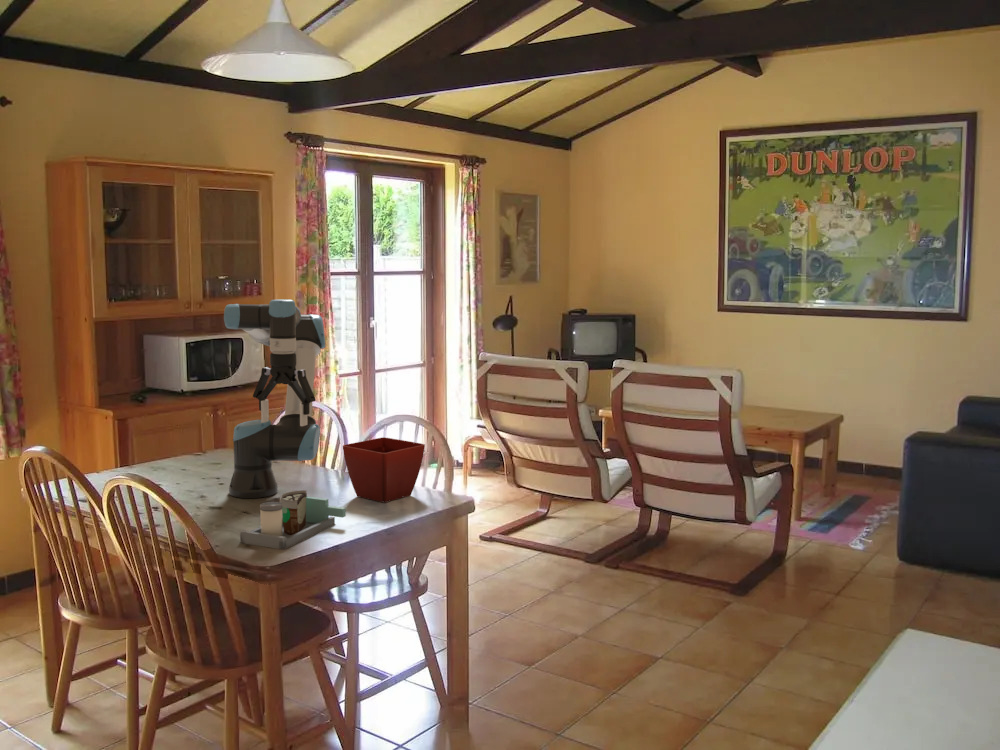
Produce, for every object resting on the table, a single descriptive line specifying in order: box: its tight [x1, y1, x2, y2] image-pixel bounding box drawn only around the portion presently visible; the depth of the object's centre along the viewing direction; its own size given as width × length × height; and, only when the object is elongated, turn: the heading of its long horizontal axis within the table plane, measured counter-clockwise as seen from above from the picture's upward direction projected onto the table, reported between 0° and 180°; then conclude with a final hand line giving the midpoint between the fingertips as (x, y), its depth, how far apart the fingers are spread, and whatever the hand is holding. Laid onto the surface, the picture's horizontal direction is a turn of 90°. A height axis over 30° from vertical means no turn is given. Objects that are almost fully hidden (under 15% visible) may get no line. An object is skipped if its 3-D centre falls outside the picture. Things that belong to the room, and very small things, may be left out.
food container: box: [278, 489, 308, 535], centre depth 261 cm, size 12×6×10 cm, turn 179°
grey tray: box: [239, 516, 336, 550], centre depth 259 cm, size 14×25×4 cm, turn 158°
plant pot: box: [342, 436, 426, 503], centre depth 301 cm, size 19×19×17 cm
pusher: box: [306, 495, 347, 523], centre depth 268 cm, size 16×2×7 cm, turn 68°
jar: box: [259, 501, 283, 536], centre depth 251 cm, size 6×6×10 cm
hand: (284, 423), depth 280 cm, fingers open, 13 cm apart
